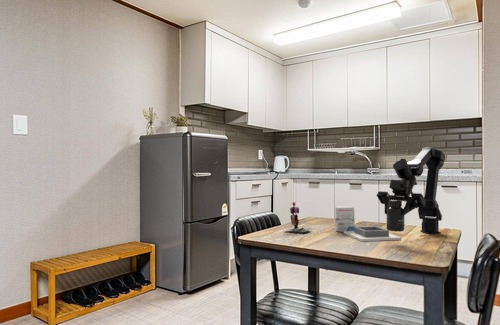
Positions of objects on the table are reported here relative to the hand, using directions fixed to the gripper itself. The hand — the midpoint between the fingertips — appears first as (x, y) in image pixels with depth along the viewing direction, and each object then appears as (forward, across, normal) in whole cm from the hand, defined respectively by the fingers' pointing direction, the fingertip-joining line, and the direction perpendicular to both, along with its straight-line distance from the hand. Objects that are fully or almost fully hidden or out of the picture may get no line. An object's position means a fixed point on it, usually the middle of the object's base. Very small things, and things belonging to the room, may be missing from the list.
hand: (393, 214), depth 143 cm
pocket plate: (+4, -14, +13) cm, 20 cm away
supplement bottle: (+4, 0, +6) cm, 7 cm away
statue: (+14, -44, +3) cm, 47 cm away
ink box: (+2, -30, +16) cm, 34 cm away
